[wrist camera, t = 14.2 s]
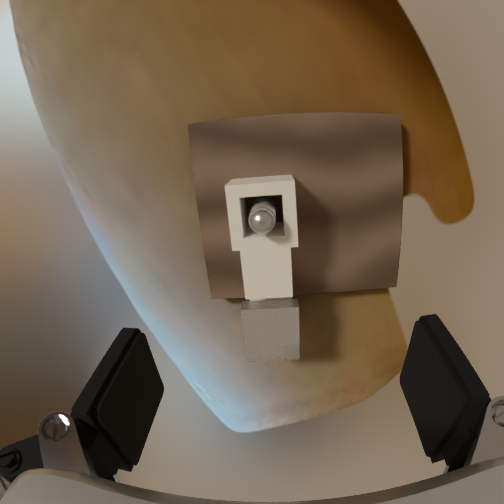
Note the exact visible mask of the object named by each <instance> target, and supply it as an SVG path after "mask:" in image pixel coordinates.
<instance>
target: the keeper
mask: <svg viewBox="0 0 504 504" xmlns="http://www.w3.org/2000/svg"><path fill="white" fill-rule="evenodd" d="M241 315H242V323H243V330H244V338H245V346H246V353H247V360H248V362H257V361H284V360H300V339H299V303H298V299H281V300H261V301H243V302H242V307H241Z"/></svg>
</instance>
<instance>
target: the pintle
mask: <svg viewBox="0 0 504 504" xmlns="http://www.w3.org/2000/svg"><path fill="white" fill-rule="evenodd" d="M248 223H249V226H250V228H251V229H252V230H253V231H254V232H256V233H259V234H265V233H268V232H270V231H271V230H272V229H273V228H274V226H275V224H276V205H275V201H274V200H273V199H272V198H271V197H270V196H258V197H257V198H256V199H255V200H254V202H253V205H252V208H251V211H250V214H249V218H248Z"/></svg>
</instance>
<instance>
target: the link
mask: <svg viewBox="0 0 504 504" xmlns="http://www.w3.org/2000/svg"><path fill="white" fill-rule="evenodd" d="M225 194H226V203H227V212H228V220H229V229H230V237H231V245H232V251H240V257H241V266H242V275H243V283H244V292H245V299H249V301H261V300H281V299H292V297H293V287H292V264H291V247H298V229H297V210H296V193H295V180H294V178H293V176H292V175H278V176H264V177H251V178H240V179H232V180H230V181H229V182H228V183H227V184H226V185H225ZM269 195H282V208H283V222H276V224H275V226H274V228H273V229H272V230H271V231H270V232H268V233H265V234H259V233H256V232H254V231H253V230H252V229H251V228H250V226H249V224H248V221H247V211H246V201H245V197H255V196H269Z"/></svg>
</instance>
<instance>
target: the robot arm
mask: <svg viewBox="0 0 504 504" xmlns="http://www.w3.org/2000/svg"><path fill="white" fill-rule="evenodd" d="M400 385H401V388H402V390H403V393H404V395H405V398H406V400H407V403H408V406H409V409H410V411H411V414H412V417H413V420H414V422H415V425H416V428H417V430H418V434H419V437H420V440H421V442H422V446H423V449H424V452H425V454H426V456H428V457H430V458H431V461H432V463H434V462H438V461H441V460H444V459H445V462H446V465H447V466H446V468H445V471H444V473H443V474H442V475H439V476H436V477H433V478H429V479H426V480H422V481H419V482H415V483H411V484H407V485H403V486H400V487H396V488H392V489H387V490H382V491H377V492H372V493H366V494H361V495H354V496H348V497H340V498H332V499H323V500H312V501H296V502H238V501H224V500H211V499H203V498H194V497H187V496H180V495H174V494H168V493H163V492H158V491H153V490H148V489H143V488H139V487H134V486H130V485H126V484H122V483H120V482H119V480H118V477H117V476H116V473H117V471H118V469H122V470H126V471H130V472H131V471H132V468H133V465H137V464H138V462H139V459H140V456H141V453H142V451H143V448H144V445H145V442H146V439H147V436H148V433H149V431H150V428H151V425H152V423H153V420H154V417H155V415H156V412H157V409H158V406H159V404H160V401H161V398H162V395H163V392H164V386H163V383H162V380H161V378H160V375H159V372H158V370H157V367H156V364H155V362H154V359H153V356H152V353H151V350H150V347H149V345H148V342H147V339H146V336H145V334H144V333H141V331H140V330H139V329H138V328H123V329H122V330H121V331H120V333H119V334H118V336H117V337H116V339H115V340H114V342H113V343H112V345H111V346H110V348H109V350H108V351H107V353H106V354H105V356H104V357H103V359H102V360H101V362H100V363H99V365H98V367H97V368H96V370H95V371H94V373H93V374H92V376H91V378H90V379H89V381H88V383H87V384H86V386H85V387H84V389H83V391H82V392H81V394H80V396H79V397H78V399H77V401H76V402H75V404H74V406H73V407H72V412H71V414H70V415H69V414H68V413H65V412H53V413H51V414H48V415H47V416H46V417H44V418H43V419H42V421H41V422H40V424H39V426H38V434H37V435H35V436H32V437H30V438H27V439H24V440H22V441H19V442H16V443H13V444H11V445H8V446H6V447H4V448H2V449H1V450H0V504H504V396H500V397H496V398H494V399H493V400H491V399H490V397H489V393H488V391H487V390H486V388H485V386H484V385H483V383H482V381H481V380H480V378H479V377H478V375H477V373H476V372H475V370H474V368H473V367H472V366H471V364H470V362H469V361H468V359H467V358H466V356H465V354H464V353H463V351H462V350H461V348H460V347H459V345H458V344H457V343H456V341H455V340H454V338H453V337H452V335H451V334H450V332H449V331H448V330H447V328H446V327H445V325H444V324H443V322H442V321H441V320H440V318H439V317H438V316H437V315H436V314H433V315H426V316H421V317H420V318H419V321H416V322H415V324H414V329H413V332H412V336H411V340H410V344H409V347H408V351H407V354H406V358H405V361H404V365H403V368H402V371H401V374H400Z"/></svg>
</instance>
